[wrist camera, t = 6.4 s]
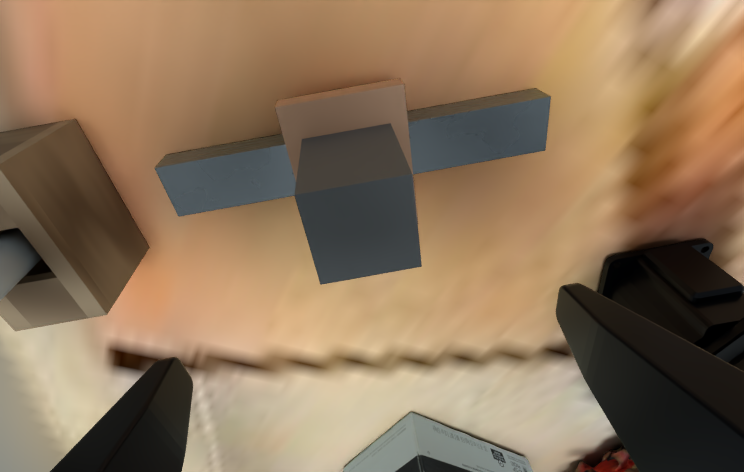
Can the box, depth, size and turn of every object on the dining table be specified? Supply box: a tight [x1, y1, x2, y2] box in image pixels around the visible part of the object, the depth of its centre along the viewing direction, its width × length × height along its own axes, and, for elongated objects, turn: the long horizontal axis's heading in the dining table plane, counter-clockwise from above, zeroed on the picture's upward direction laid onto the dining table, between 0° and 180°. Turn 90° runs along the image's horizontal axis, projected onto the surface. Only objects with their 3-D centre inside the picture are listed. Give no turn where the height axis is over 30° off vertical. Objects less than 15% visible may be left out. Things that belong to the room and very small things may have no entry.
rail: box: [155, 88, 551, 216], centre depth 19 cm, size 2×18×2 cm, turn 99°
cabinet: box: [0, 119, 149, 331], centre depth 17 cm, size 7×4×5 cm, turn 9°
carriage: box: [275, 78, 422, 284], centre depth 16 cm, size 6×5×7 cm
